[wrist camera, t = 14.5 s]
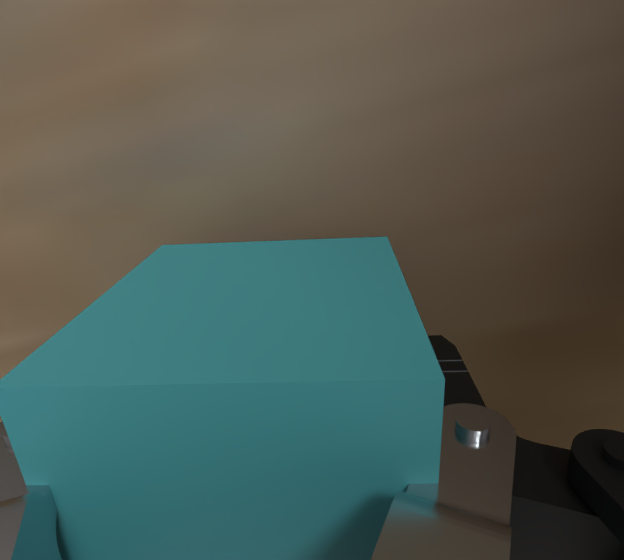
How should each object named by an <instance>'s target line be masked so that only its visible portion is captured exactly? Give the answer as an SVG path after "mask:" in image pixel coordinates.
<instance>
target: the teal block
mask: <svg viewBox="0 0 624 560" xmlns="http://www.w3.org/2000/svg"><path fill="white" fill-rule="evenodd" d="M444 390H445V378H444V375H443V373H442V370H441V368H440V365H439V363H438V360H437V358H436V355H435V353H434V350H433V348H432V346H431V343H430V341H429V338H428V336H427V333H426V331H425V328H424V326H423V323H422V321H421V318H420V316H419V314H418V311H417V309H416V306H415V304H414V301H413V299H412V296H411V294H410V291H409V289H408V286H407V284H406V282H405V279H404V277H403V274H402V272H401V269H400V267H399V264H398V262H397V259H396V257H395V255H394V252H393V250H392V247H391V245H390V242H389V240H388V237H363V238H336V239H310V240H284V241H257V242H231V243H205V244H178V245H162V246H161V247H159V248H158V249H157V250H156V251H155V252H153V253H152V254H151V255H150V256H149V257H147V258H146V259H145V260H144V261H143V262H141V263H140V264H139V265H138V266H137V267H135V268H134V269H133V270H132V271H131V272H129V273H128V274H127V275H126V276H125V277H123V278H122V279H121V280H120V281H118V282H117V283H116V284H115V285H114V286H112V287H111V288H110V289H109V290H108V291H106V292H105V293H104V294H103V295H102V296H100V297H99V298H98V299H97V300H96V301H94V302H93V303H92V304H91V305H90V306H88V307H87V308H86V309H85V310H84V311H82V312H81V313H80V314H79V315H78V316H76V317H75V318H74V319H73V320H72V321H70V322H69V323H68V324H67V325H66V326H64V327H63V328H62V329H61V330H60V331H58V332H57V333H56V334H55V335H54V336H52V337H51V338H50V339H49V340H47V341H46V342H45V343H44V344H43V345H41V346H40V347H39V348H38V349H37V350H35V351H34V352H33V353H32V354H31V355H29V356H28V357H27V358H26V359H25V360H23V361H22V362H21V363H20V364H19V365H17V366H16V367H15V368H14V369H13V370H11V371H10V372H9V373H8V374H7V375H5V376H4V377H3V378H2V379H1V380H0V415H1V418H2V421H3V424H4V426H5V429H6V432H7V435H8V437H9V440H10V443H11V445H12V448H13V451H14V454H15V456H16V459H17V462H18V465H19V467H20V470H21V473H22V475H23V478H24V481H25V484H26V485H49V486H50V489H51V491H52V494H53V497H54V500H55V503H56V506H57V509H58V511H57V517H56V538H57V545H58V549H59V552H60V555H61V558H62V560H371V558H372V555H373V552H374V550H375V547H376V544H377V541H378V539H379V536H380V533H381V531H382V528H383V525H384V523H385V520H386V517H387V514H388V512H389V509H390V506H391V504H392V501H393V499H394V497H395V495H396V493H397V492H398V491H402V492H405V493H406V491H407V488H408V486H409V484H436V483H439V467H440V452H441V436H442V421H443V405H444Z"/></svg>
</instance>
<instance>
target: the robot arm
mask: <svg viewBox="0 0 624 560" xmlns="http://www.w3.org/2000/svg"><path fill="white" fill-rule="evenodd" d="M428 338H429V341H430V343H431V346H432V348H433V350H434V353H435V355H436V358H437V360H438V363H439V365H440V368H441V370H442V373H443V375H444V378H445V390H444V405H443V421H442V436H441V452H440V467H439V483H436V484H409V486H408V488H407V491H406V493H405V492H402V491H398V492H397V493H396V495H395V497H394V499H393V501H392V504H391V506H390V509H389V512H388V514H387V517H386V520H385V523H384V525H383V528H382V531H381V533H380V536H379V539H378V541H377V544H376V547H375V550H374V552H373V555H372V558H371V560H624V433H623V432H619V431H614V430H607V429H592V430H587V431H584V432H581V433H579V434H578V435H577V436H576V437H575V438H574V439H573V442H572V446H571V450H568V449H563V448H558V447H553V446H548V445H544V444H539V443H535V442H531V441H528V440H525V439H522V438H520V437H518V436H516V432H515V429H514V428H513V426H512V424H511V423H510V422H509V421H508V420H507V419H506V418H505V417H503V416H502V415H501V414H499V413H497V412H496V411H494V410H491V409H489V408H486V406H485V404H484V402H483V400H482V398H481V396H480V394H479V392H478V390H477V388H476V386H475V384H474V382H473V380H472V378H471V376H470V374H469V372H467V368H466V366H465V364H464V362H463V361H462V358H461V356H460V354H459V352H458V350H457V348H456V346H455V345H453V344H452V343H451V342H449V341H448V340H447V339H445V338H444V337H443V336H441V335H434V336H428ZM57 511H58V509H57V506H56V503H55V500H54V497H53V494H52V491H51V489H50V486H49V485H26V484H25V481H24V478H23V475H22V473H21V470H20V467H19V465H18V462H17V459H16V456H15V454H14V451H13V448H12V445H11V443H10V440H9V437H8V435H7V432H6V429H5V426H4V424H3V421H2V422H0V560H62V558H61V555H60V552H59V549H58V545H57V538H56V517H57Z"/></svg>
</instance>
